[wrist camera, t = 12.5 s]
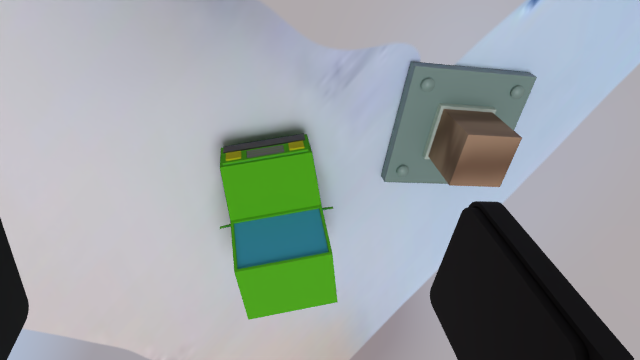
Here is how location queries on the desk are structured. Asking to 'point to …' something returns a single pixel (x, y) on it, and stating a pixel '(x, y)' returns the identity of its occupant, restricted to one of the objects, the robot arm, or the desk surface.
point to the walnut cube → (473, 148)
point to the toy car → (277, 226)
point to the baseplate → (446, 93)
